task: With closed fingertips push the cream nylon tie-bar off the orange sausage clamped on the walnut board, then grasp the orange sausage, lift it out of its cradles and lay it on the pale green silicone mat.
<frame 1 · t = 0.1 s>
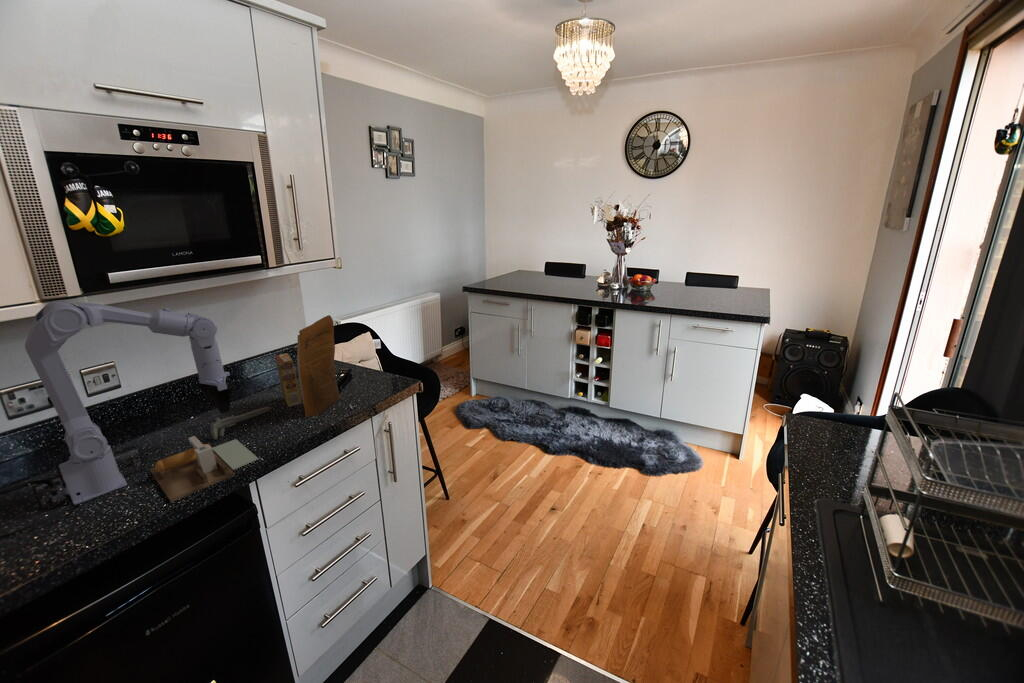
hand: (220, 408, 125), 10 cm above the counter, fingers open, 7 cm apart
clamp board: (191, 473, 113), on the counter
caliper: (245, 424, 138), on the counter
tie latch: (200, 453, 115), point 4 cm above the counter, slide at 0.0 cm
mat: (234, 454, 121), on the counter
candy box: (292, 401, 152), on the counter
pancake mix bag: (326, 406, 147), on the counter
orange sausage: (186, 462, 115), point 2 cm above the counter, touching clamp board
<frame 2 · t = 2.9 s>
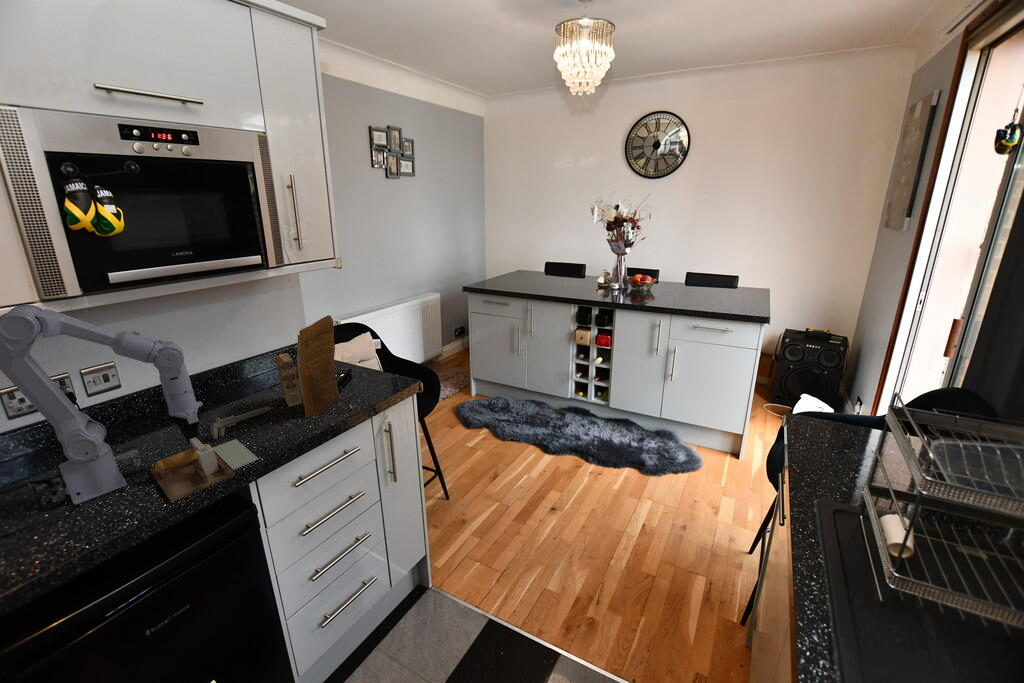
hand: (192, 440, 117), 6 cm above the counter, fingers closed
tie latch: (202, 455, 114), point 4 cm above the counter, slide at 1.2 cm, touching gripper
everything else where it was.
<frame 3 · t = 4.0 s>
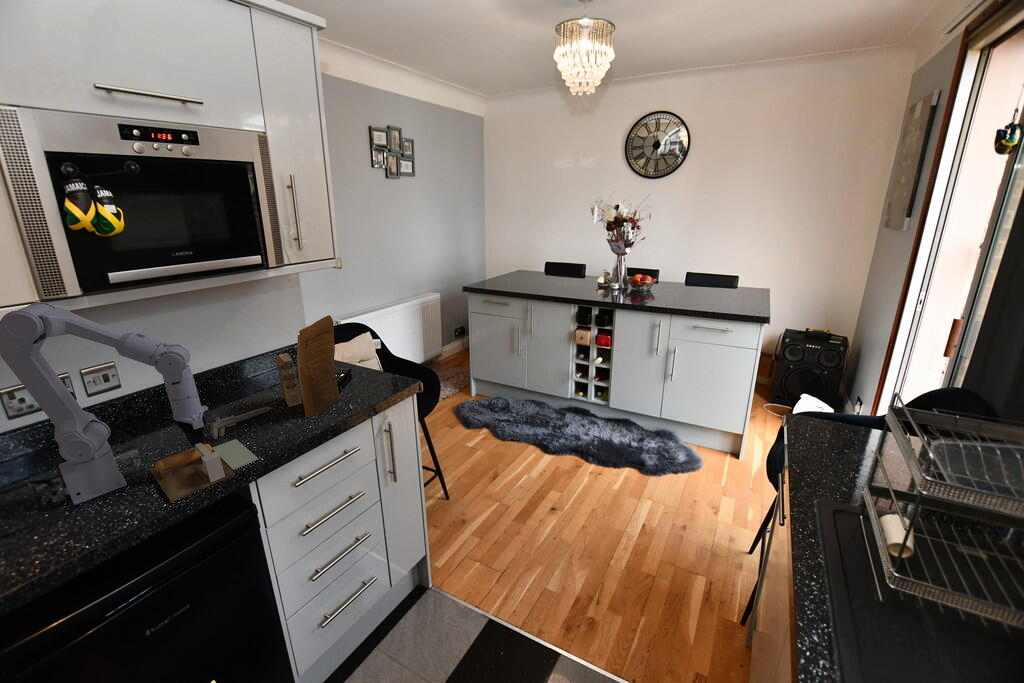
hand: (197, 445, 115), 6 cm above the counter, fingers closed
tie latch: (207, 461, 111), point 4 cm above the counter, slide at 5.4 cm, touching gripper
everything else where it was.
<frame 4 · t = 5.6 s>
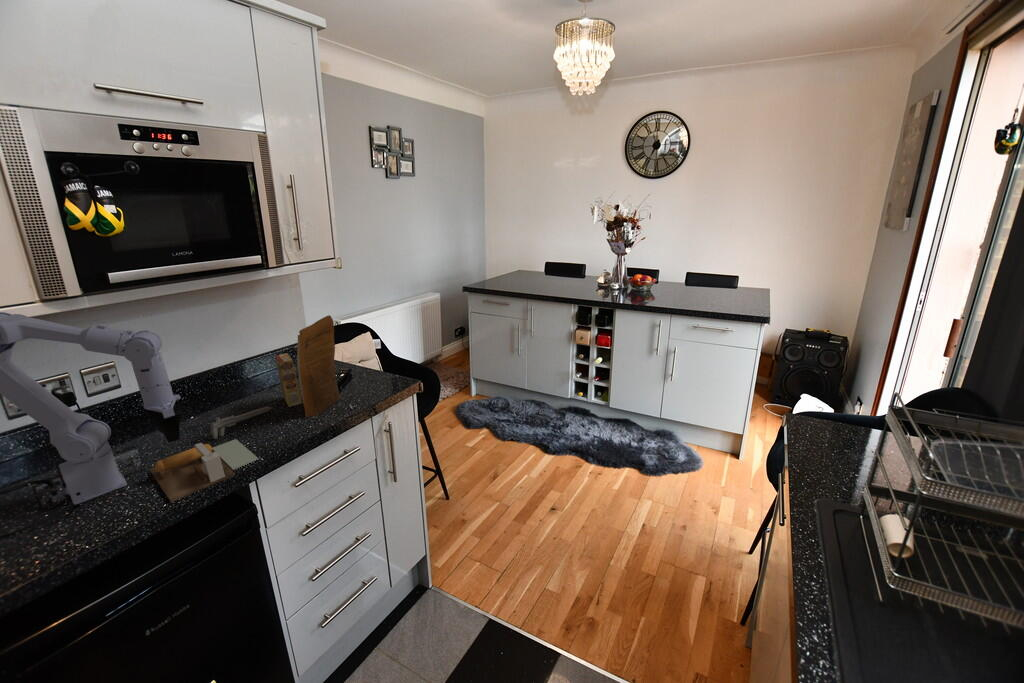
hand: (169, 435, 111), 10 cm above the counter, fingers open, 7 cm apart
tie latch: (207, 461, 111), point 4 cm above the counter, slide at 5.4 cm
everything else where it was.
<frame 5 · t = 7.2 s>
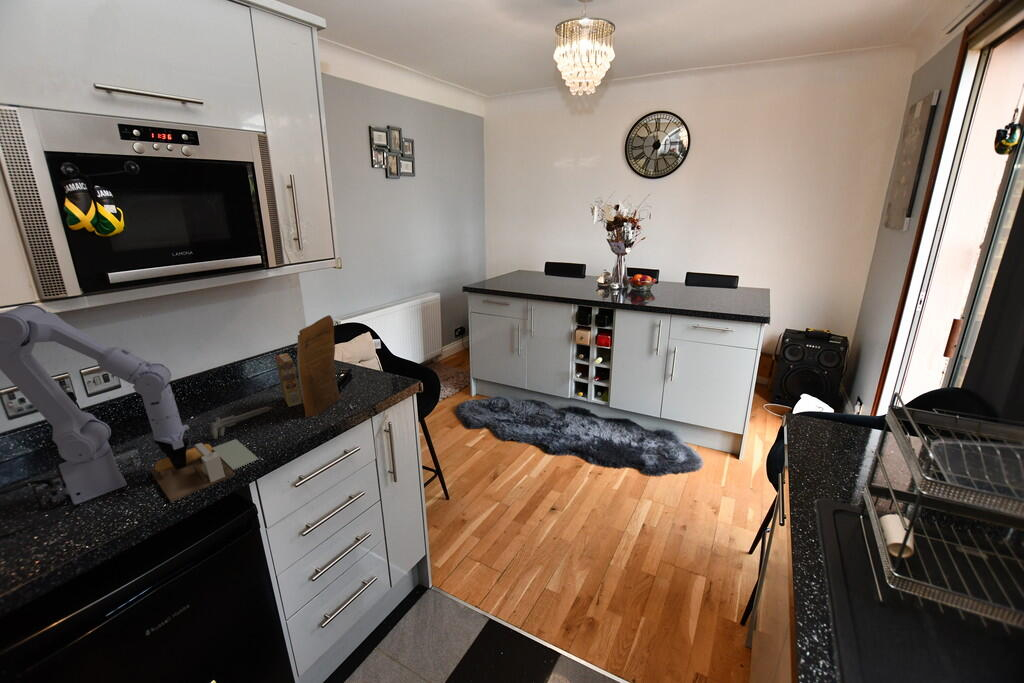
hand: (178, 464, 114), 2 cm above the counter, fingers closed on orange sausage, 3 cm apart
orange sausage: (186, 462, 115), point 2 cm above the counter, touching clamp board, gripper
everything else where it was.
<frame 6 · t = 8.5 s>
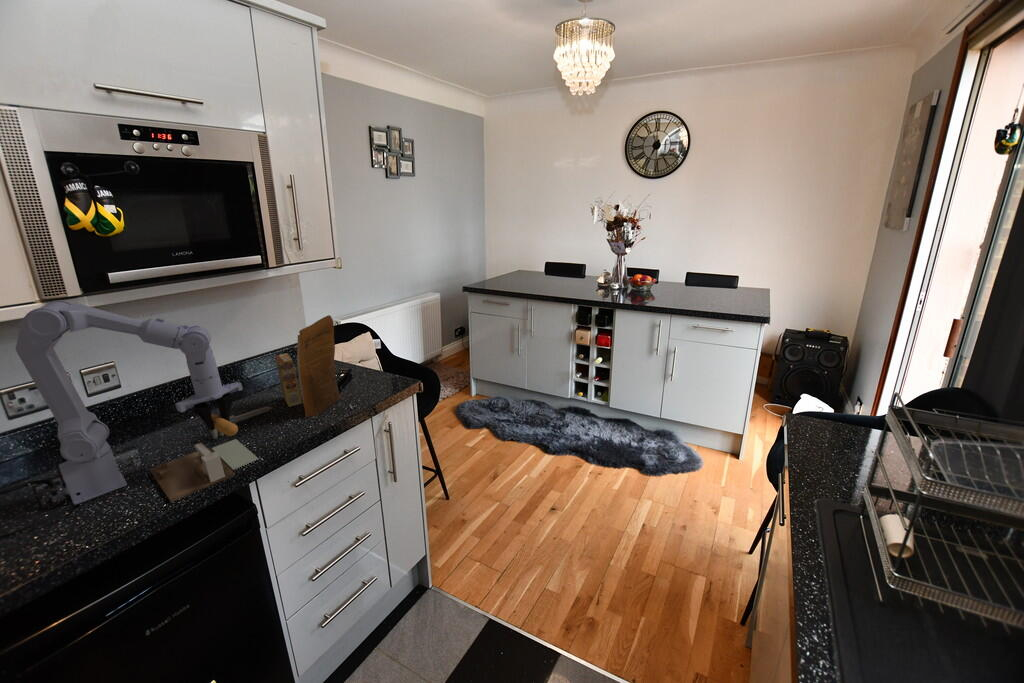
hand: (218, 426, 117), 9 cm above the counter, fingers closed on orange sausage, 3 cm apart
orange sausage: (221, 430, 116), point 8 cm above the counter, tilted 12°, touching gripper
everything else where it was.
when the fingers open (2 cm above the counter, at t = 10.1 s): orange sausage stays where it is, resting on mat.
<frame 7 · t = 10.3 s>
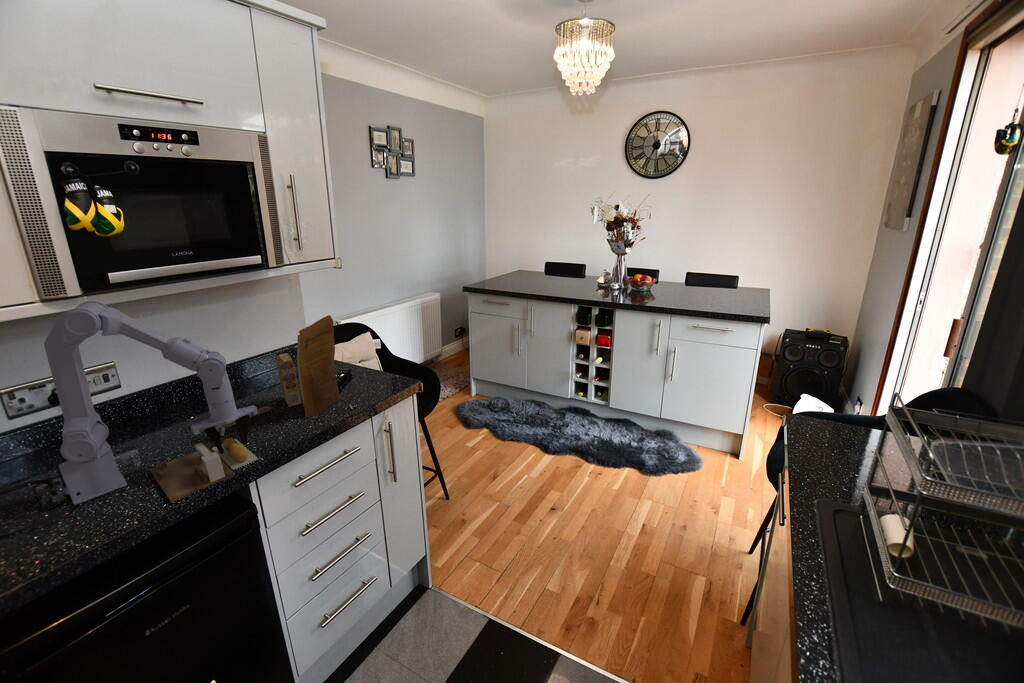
hand: (233, 448, 120), 2 cm above the counter, fingers open, 5 cm apart
orange sausage: (235, 455, 119), point 1 cm above the counter, tilted 16°, touching mat
everything else where it was.
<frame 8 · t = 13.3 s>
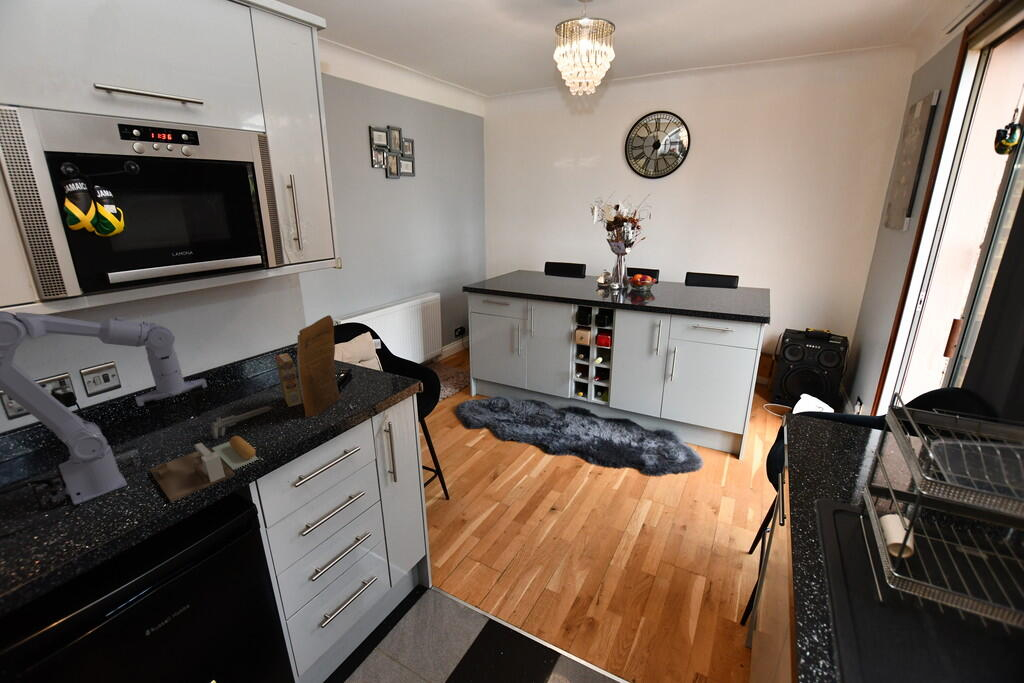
hand: (181, 421, 118), 10 cm above the counter, fingers open, 7 cm apart
orange sausage: (236, 450, 119), point 2 cm above the counter, tilted 78°, touching mat
everything else where it was.
at the end: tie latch slide at 5.4 cm; orange sausage inside the target area on the mat (1.4 cm from its centre), point 1.7 cm above the mat's base; the gripper is holding nothing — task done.
